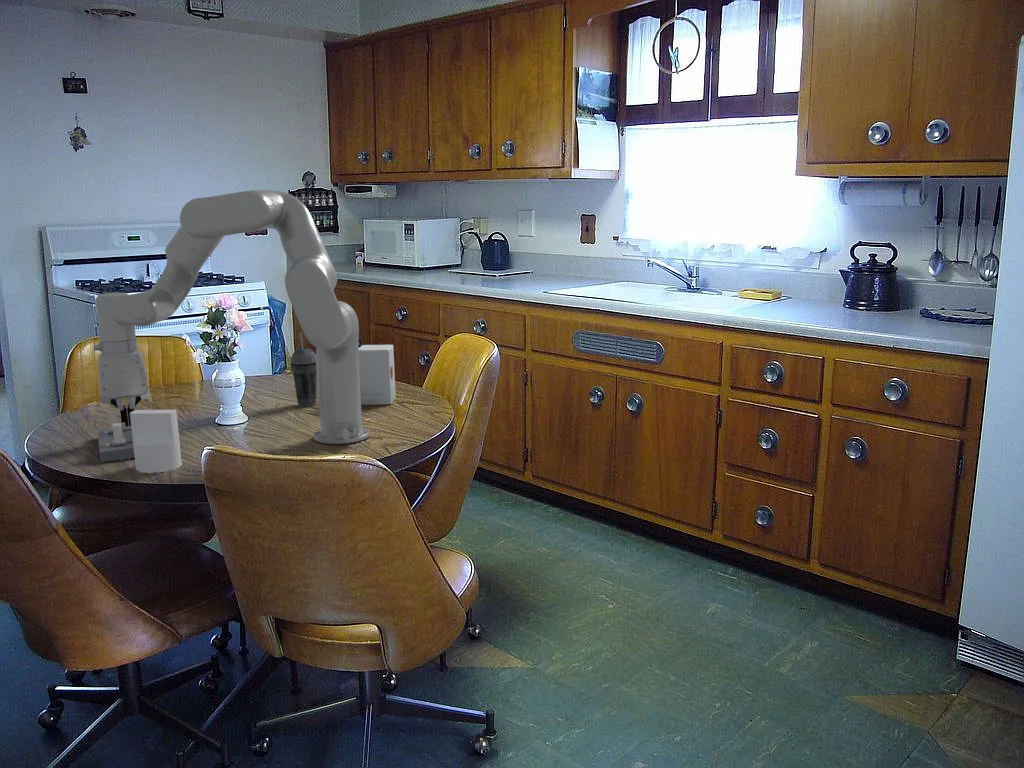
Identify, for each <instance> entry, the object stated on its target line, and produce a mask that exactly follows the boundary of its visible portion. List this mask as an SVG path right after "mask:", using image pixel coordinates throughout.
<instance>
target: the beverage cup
mask: <svg viewBox="0 0 1024 768" xmlns="http://www.w3.org/2000/svg"><path fill="white" fill-rule="evenodd" d="M299 339H300V346H301V347H299V348H297V349H296V350H294V352H293V353H292V355H291V357H290V363H289V364H290V366H291V367H290V368H291V372H292V376H293V382H294V388H295V393H296V401H297V403H298V404H297V405H298V407H299V408H310V407H311V408H312V407H315V406H316V405H317V404H316V403H317V366H316V352H314V351H313V350H312V349H311V348H309V347H304V341H303V331H299Z"/></svg>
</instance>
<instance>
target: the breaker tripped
mask: <svg viewBox="0 0 1024 768" xmlns="http://www.w3.org/2000/svg"><path fill="white" fill-rule="evenodd" d="M117 414H118V412H117V411H108V412H107V415H108V427H110V428H107V430H108V433H113V427H112V424H115V423H119V421H118V415H117Z"/></svg>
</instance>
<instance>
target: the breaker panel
mask: <svg viewBox="0 0 1024 768" xmlns="http://www.w3.org/2000/svg"><path fill="white" fill-rule="evenodd" d="M107 428H110V426H108V427H107V426H106V427H98V428H97V435H98V449H99V450H98V451H99V459H100V463H101V462H104V461H112V460H120V459H128V458H135V457H134V448H133V437H132V428H131V426H128V427H125V424H123V425H122V434H123V439H125V440H126V444H124V445H116V446H112V440H114V436H113V433H108V430H107ZM128 460H129V459H128ZM120 461H121V460H120Z"/></svg>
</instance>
